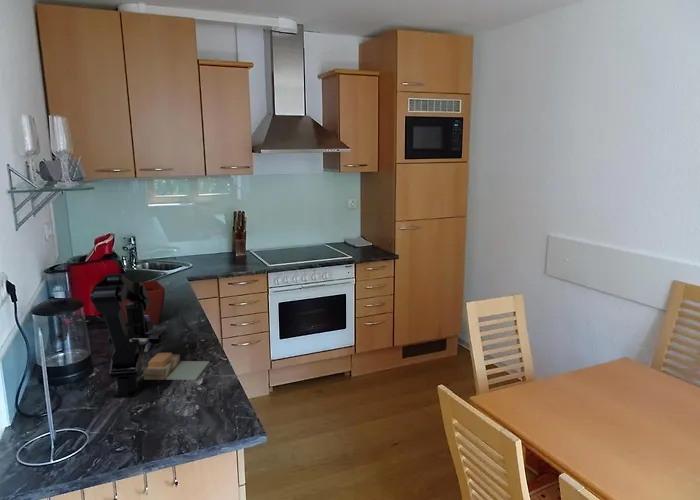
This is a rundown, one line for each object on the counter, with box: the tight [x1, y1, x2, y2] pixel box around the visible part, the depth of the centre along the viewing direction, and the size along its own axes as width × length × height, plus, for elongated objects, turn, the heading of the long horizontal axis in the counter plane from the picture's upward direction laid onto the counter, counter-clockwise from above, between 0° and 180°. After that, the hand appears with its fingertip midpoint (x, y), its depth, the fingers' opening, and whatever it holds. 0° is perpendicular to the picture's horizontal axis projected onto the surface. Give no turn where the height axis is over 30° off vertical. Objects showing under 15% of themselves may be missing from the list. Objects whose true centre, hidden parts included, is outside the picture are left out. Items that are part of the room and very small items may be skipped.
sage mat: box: [165, 360, 210, 381], centre depth 173 cm, size 14×10×1 cm
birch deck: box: [143, 353, 181, 381], centre depth 173 cm, size 14×7×3 cm, turn 177°
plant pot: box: [121, 280, 166, 326], centre depth 220 cm, size 19×19×17 cm
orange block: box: [147, 352, 173, 368], centre depth 173 cm, size 8×5×2 cm, turn 177°
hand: (140, 359), depth 173 cm, fingers closed
